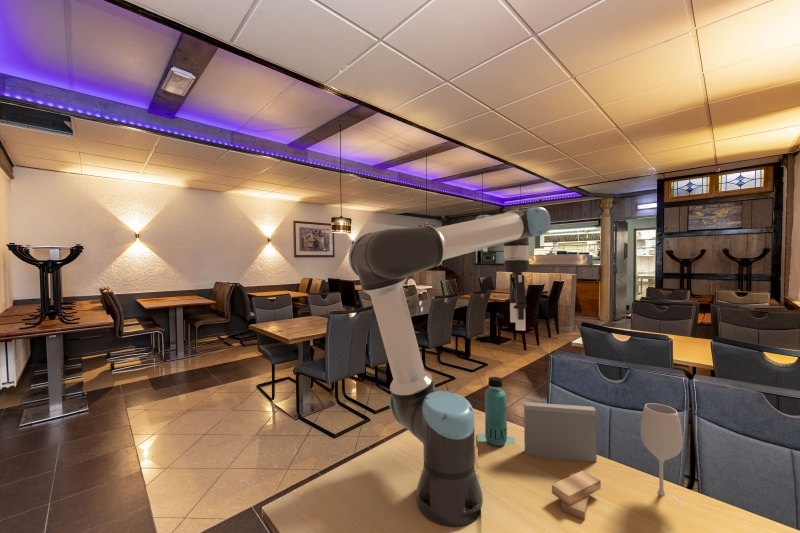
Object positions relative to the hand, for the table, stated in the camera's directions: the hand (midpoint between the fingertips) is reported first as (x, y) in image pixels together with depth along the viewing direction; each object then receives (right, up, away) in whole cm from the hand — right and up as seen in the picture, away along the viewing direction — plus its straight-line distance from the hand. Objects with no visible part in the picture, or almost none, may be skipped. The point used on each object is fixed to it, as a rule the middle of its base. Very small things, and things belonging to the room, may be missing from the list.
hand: (517, 326), depth 105 cm
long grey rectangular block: (+7, -35, -14) cm, 38 cm away
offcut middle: (+3, -34, -30) cm, 45 cm away
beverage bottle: (-9, -35, -6) cm, 36 cm away
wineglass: (+23, -35, -29) cm, 51 cm away
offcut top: (+3, -32, -30) cm, 44 cm away
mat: (-9, -35, -6) cm, 37 cm away
